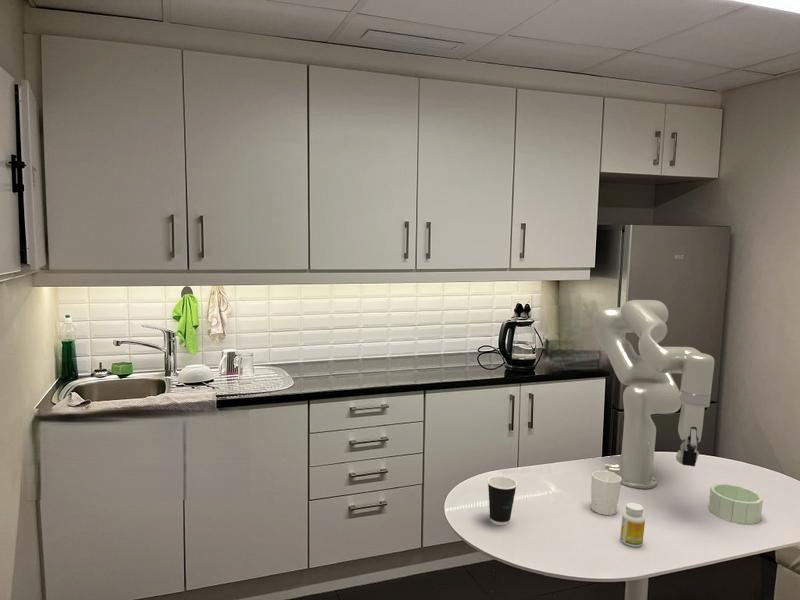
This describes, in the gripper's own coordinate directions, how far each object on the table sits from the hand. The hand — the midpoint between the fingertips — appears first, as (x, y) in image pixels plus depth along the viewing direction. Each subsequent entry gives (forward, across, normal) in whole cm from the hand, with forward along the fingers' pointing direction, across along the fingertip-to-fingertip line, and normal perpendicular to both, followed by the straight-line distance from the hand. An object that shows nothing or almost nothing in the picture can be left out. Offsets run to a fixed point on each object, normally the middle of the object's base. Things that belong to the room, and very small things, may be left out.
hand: (687, 460), depth 166 cm
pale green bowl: (+16, -7, +14) cm, 23 cm away
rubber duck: (+1, 0, 0) cm, 1 cm away
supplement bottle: (+16, +23, -14) cm, 31 cm away
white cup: (+16, +7, -21) cm, 27 cm away
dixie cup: (+16, +26, -47) cm, 56 cm away
